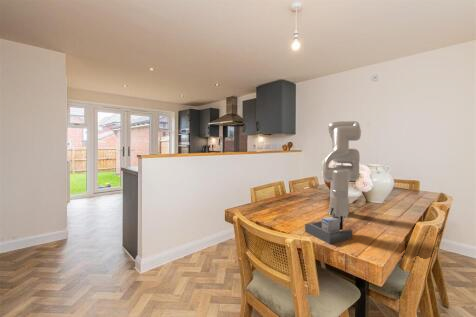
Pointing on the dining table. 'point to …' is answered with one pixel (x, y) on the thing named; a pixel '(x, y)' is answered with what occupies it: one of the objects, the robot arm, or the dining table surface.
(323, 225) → the medicine box
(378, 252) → the dining table surface
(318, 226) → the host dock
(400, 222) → the dining table surface
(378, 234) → the dining table surface
